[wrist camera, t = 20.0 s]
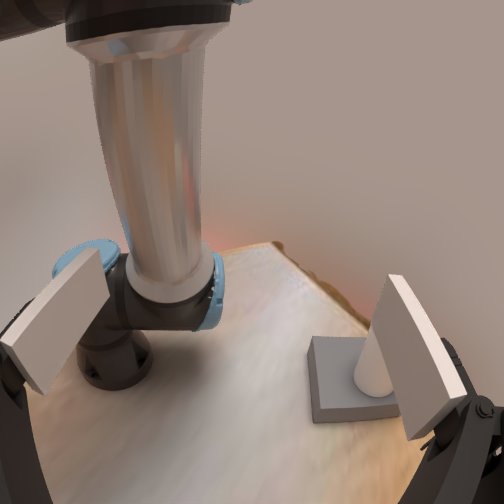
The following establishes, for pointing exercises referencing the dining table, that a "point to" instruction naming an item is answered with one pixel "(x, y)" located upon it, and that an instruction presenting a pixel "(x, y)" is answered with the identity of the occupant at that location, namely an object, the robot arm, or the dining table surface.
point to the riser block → (342, 383)
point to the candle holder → (372, 369)
